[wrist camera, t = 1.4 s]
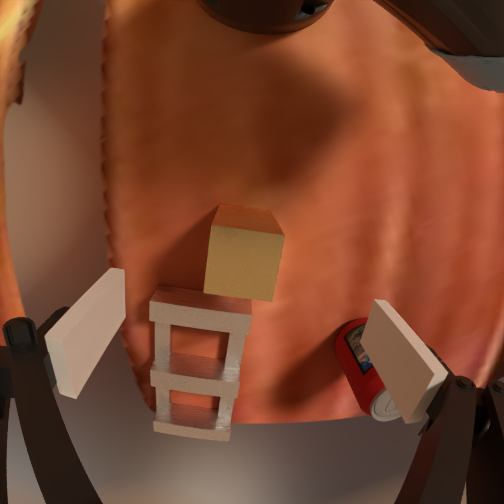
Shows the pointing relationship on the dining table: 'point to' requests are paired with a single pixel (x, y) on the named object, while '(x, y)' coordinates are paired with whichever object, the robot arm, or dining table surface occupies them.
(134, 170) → the dining table surface
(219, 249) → the brass block
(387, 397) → the beverage can
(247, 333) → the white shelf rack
